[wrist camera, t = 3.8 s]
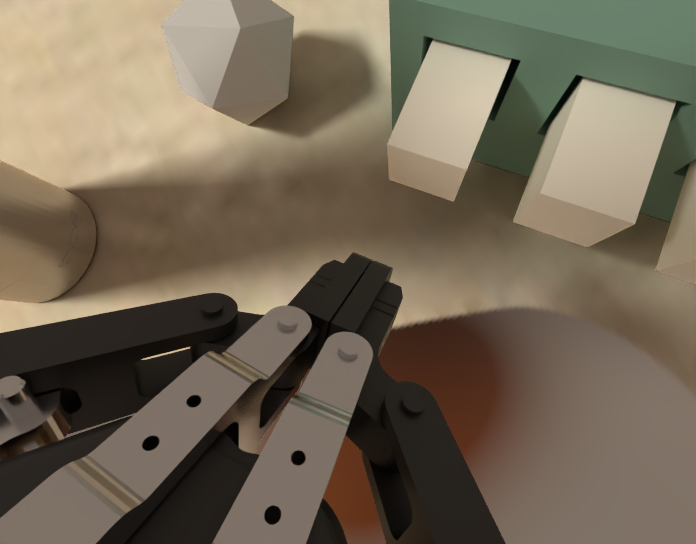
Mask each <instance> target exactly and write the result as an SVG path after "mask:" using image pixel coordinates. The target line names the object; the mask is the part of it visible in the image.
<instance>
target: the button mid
mask: <svg viewBox="0 0 696 544" xmlns="http://www.w3.org/2000/svg"><path fill="white" fill-rule="evenodd" d="M676 101H677V100H674V99H670V98H666V97H662V96H658V95H654V94H650V93H646V92H642V91H638V90H635V89H631V88H627V87H623V86H619V85H615V84H611V83H607V82H603V81H599V80H595V79H591V78H587V77H584V76H583V77H582V79H581V80H580V82H579V83H578V85H577V86H576V87H575V89H574V90H573V92H572V93H571V94H570V96H569V97H568V99H567V100H566V102H565V103H564V104H563V106H562V107H561V109H560V110H559V112H558V113H557V114H556V116H555V117H554V119H553V120H552V122H551V123H550V125H549V128H548V130H547V133H546V135H545V138H544V141H543V143H542V146H541V149H540V151H539V154H538V156H537V159H536V162H535V164H534V167H533V170H532V172H531V175H530V177H529V180H528V183H527V185H526V188H525V190H524V193H523V196H522V198H521V201H520V204H519V206H518V209H517V211H516V214H515V217H514V219H513V222H514V223H517V224H520V225H523V226H526V227H529V228H532V229H535V230H537V231H540V232H543V233H546V234H549V235H552V236H555V237H558V238H561V239H564V240H567V241H569V242H572V243H575V244H578V245H581V246H584V247H590V246H592V245H594V244H596V243H598V242H600V241H602V240H604V239H606V238H608V237H610V236H612V235H614V234H616V233H618V232H620V231H622V230H624V229H626V228H628V227H630V226H632V225H634V224H635V223H636V220H637V217H638V214H639V211H640V208H641V205H642V202H643V199H644V196H645V193H646V190H647V187H648V184H649V181H650V178H651V175H652V172H653V169H654V166H655V163H656V160H657V158H658V155H659V152H660V149H661V146H662V143H663V140H664V137H665V134H666V131H667V128H668V125H669V122H670V119H671V116H672V113H673V110H674V107H675V104H676Z"/></svg>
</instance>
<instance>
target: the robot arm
mask: <svg viewBox="0 0 696 544" xmlns="http://www.w3.org/2000/svg"><path fill="white" fill-rule="evenodd" d="M96 235H97V234H96V225H95V220H94V217H93V215H92V212H91V210H90V209H89V207H88V206H87V204H86V203H85V202H84V201H83V200H82V199H80V198H79V197H78V196H76V195H74V194H72V193H70V192H68V191H66V190H64V189H62V188H59V187H57V186H55V185H53V184H51V183H48V182H46V181H44V180H42V179H40V178H37V177H35V176H33V175H31V174H29V173H27V172H25V171H22V170H20V169H18V168H16V167H14V166H11V165H9V164H7V163H5V162H3V161H0V300H7V301H17V302H28V303H39V302H45V301H49V300H51V299H54V298H56V297H58V296H60V295H62V294H63V293H65V292H66V291H68V290H69V289H70V288H71V287H72V286H73V285H74V284H75V283H76V282H77V281H78V280H79V279H80V278H81V276H82V275H83V274H84V272H85V271H86V269H87V267H88V265H89V263H90V261H91V259H92V256H93V253H94V249H95V245H96ZM392 271H393V268H392V267H389V266H387V265H384V264H381V263H379V262H376V261H373V260H371V259H369V258H366V257H364V256H361V255H359V254H356V253H352V254H351V255H350V257H349V258H348V259H347V260H346V262H345V263H344V264H343V263H341V262H339V261H336V260H333V261H331V262H329V263H326V264H324V265H323V266H322V267H321V268H320V269H319V270H318V271H317V272H316V274H315V275H314V276H313V277H312V278H311V279H310V281H309V282H308V283H307V284H306V285H305V286H304V287H303V288H302V289H301V291H300V292H299V293H298V294H297V295H296V296H295V297H294V299H293V300H292V301H291V302H290V303H289V304H288V305H287V306H279V307H276V308H273V309H272V310H270V311H269V312H268V313H266V314H265V315H258V314H251V313H245V312H239V311H238V307H237V304H236V302H235V301H234V300H233V299H232V298H231V297H229V296H227V295H224V294H220V293H208V294H202V295H197V296H192V297H187V298H182V299H176V300H171V301H166V302H161V303H155V304H150V305H145V306H140V307H135V308H129V309H124V310H119V311H114V312H109V313H103V314H98V315H93V316H88V317H83V318H77V319H72V320H67V321H62V322H56V323H51V324H46V325H41V326H36V327H30V328H25V329H20V330H15V331H10V332H4V333H0V544H347V541H346V538H345V534H344V531H343V529H342V527H341V524H340V522H339V520H338V518H337V516H336V515H335V513H334V511H333V509H332V508H331V507H330V506H329V504H328V503H327V502H326V500H325V499H324V498H323V495H324V493H325V490H326V487H327V484H328V481H329V479H330V476H331V473H332V471H333V468H334V465H335V462H336V459H337V456H338V454H339V451H340V448H341V445H342V443H343V440H344V437H345V435H346V436H347V437H348V438H350V440H351V441H352V442H353V443H354V444H355V445H356V446H357V447H359V449H360V450H362V458H363V463H364V466H365V470H366V473H367V477H368V480H369V484H370V487H371V491H372V494H373V498H374V502H375V505H376V509H377V512H378V515H379V519H380V522H381V526H382V529H383V533H384V536H385V540H386V544H505V542H504V540H503V538H502V536H501V533H500V531H499V529H498V527H497V525H496V523H495V521H494V519H493V518H492V515H491V513H490V511H489V509H488V507H487V505H486V503H485V501H484V499H483V496H482V494H481V492H480V490H479V488H478V486H477V484H476V482H475V480H474V478H473V476H472V474H471V472H470V470H469V468H468V466H467V464H466V462H465V460H464V458H463V456H462V454H461V452H460V449H459V447H458V445H457V443H456V441H455V439H454V437H453V435H452V433H451V431H450V429H449V427H448V425H447V423H446V421H445V419H444V416H443V415H442V412H441V410H440V408H439V406H438V404H437V402H436V400H435V399H434V397H433V396H432V395H431V394H430V392H429V391H428V390H426V389H425V388H424V387H422V386H420V385H418V384H416V383H413V382H407V381H406V382H405V381H404V382H398V383H397V382H396V381H394V379H392V378H391V377H390V376H389V375H388V374H387V373H386V372H385V371H384V370H383V368H382V366H381V364H380V362H379V359H378V356H379V354H380V351H381V350H382V347H383V345H384V343H385V341H386V339H387V336H388V334H389V332H390V330H391V328H392V325H393V323H394V320H395V317H396V315H397V312H398V309H399V307H400V304H401V301H402V299H403V296H402V290H401V287H400V286H398V285H395V284H393V283H390V282H389V280H390V277H391V274H392ZM186 347H190V349H186V350H183V351H179V352H175V353H171V354H167V355H163V356H159V357H155V358H151V359H147V360H141V359H143V358H146V357H150V356H154V355H158V354H162V353H166V352H170V351H174V350H178V349H182V348H186ZM309 369H311V370H310V373H309V374H308V376H307V378H306V380H305V382H304V384H303V386H302V388H301V389H300V391H299V393H298V394H297V395H295V393H296V392H297V391H298V389H299V388H300V386H301V382H302V380H303V378H304V376H305V375H306V373H307V372H308V370H309ZM286 405H287V406H286ZM285 407H286V408H285ZM284 408H285V409H284ZM283 409H284V411H283V413H282V415H281V417H280V419H279V421H278V423H277V424H276V426H275V428H274V430H273V432H272V434H271V435H270V437H269V439H268V441H267V443H266V445H265V446H264V448H263V450H262V452H261V454H260V455H258V454H255V452H256V450H257V448H258V445H259V443H260V441H261V439H262V437H263V435H264V434H265V433H266V431H267V430H268V429H269V427H270V426H271V425H272V424H273V422H274V421H275V420H276V418H277V417H278V416H279V414H280V413H281V412H282V410H283ZM133 413H136V414H135V415H134V416H129V417H126V418H123V419H120V420H117V421H114V422H111V423H108V424H105V425H102V426H100V427H96V428H94V429H91V430H88V431H85V432H82V433H79V434H76V435H73V436H70V437H68V438H65V437H66V436H67V434H70V433H73V432H77V431H80V430H83V429H86V428H89V427H92V426H96V425H99V424H102V423H105V422H108V421H111V420H115V419H118V418H121V417H124V416H127V415H131V414H133ZM64 438H65V439H64Z"/></svg>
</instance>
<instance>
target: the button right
mask: <svg viewBox="0 0 696 544" xmlns="http://www.w3.org/2000/svg"><path fill="white" fill-rule="evenodd" d="M655 271H657V272H660V273H663V274H666V275H669V276H672V277H675V278H678V279H681V280H684V281H686V282H689V283H692V284H695V285H696V160H695V161H693V162H691V163H690V165H689V168H688V171H687V174H686V177H685V180H684V183H683V186H682V189H681V192H680V195H679V199H678V202H677V205H676V208H675V211H674V214H673V217H672V220H671V223H670V226H669V229H668V233H667V236H666V239H665V242H664V245H663V248H662V251H661V254H660V257H659V260H658V263H657V267H656V270H655Z"/></svg>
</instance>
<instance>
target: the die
mask: <svg viewBox="0 0 696 544" xmlns="http://www.w3.org/2000/svg"><path fill="white" fill-rule="evenodd" d="M293 23H294V16H293V15H291V14H290V13H289V12H287V11H286V10H284V9H283V8H281V7H280V6H278V5H277V4H275V3H274V2H272V1H271V0H184V1H183V2H182V3H181V4H180V5H179V7H178V8H177V9H176V10H175V11H174V12H173V13H172V14H171V15H170V16H169V17H168V19H167V20H166V21H165V22H164V23H163V24H162V25H161V26H162V29H163V32H164V36H165V39H166V43H167V46H168V49H169V53H170V56H171V60H172V63H173V67H174V70H175V73H176V77H177V80H178V84H179V87H180V90H181V91H182V92H184V93H186V94H187V95H189V96H191V97H193V98H195V99H196V100H198V101H200V102H202V103H203V104H205V105H207V106H209V107H210V108H212V109H214V110H216V111H218V112H221V113H223V114H225V115H227V116H229V117H231V118H233V119H235V120H237V121H240V122H242V123H244V124H246V125H249V124H251V123H252V122H254V121H255V120H257V119H258V118H260V117H261V116H262V115H264V114H265V113H267V112H268V111H270V110H271V109H273V108H274V107H276V106H277V105H279V104H280V103H282V102H283V101H285V100H286V99H288V91H289V80H290V66H291V52H292V37H293Z"/></svg>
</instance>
